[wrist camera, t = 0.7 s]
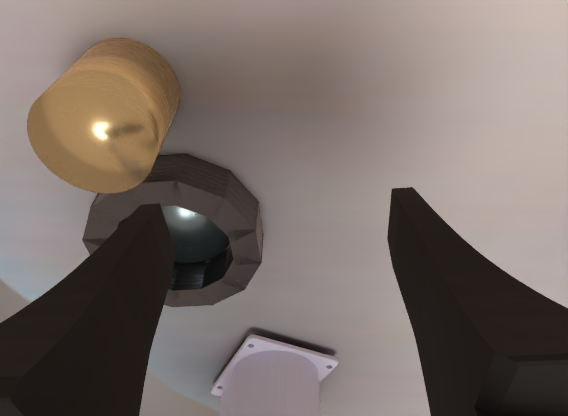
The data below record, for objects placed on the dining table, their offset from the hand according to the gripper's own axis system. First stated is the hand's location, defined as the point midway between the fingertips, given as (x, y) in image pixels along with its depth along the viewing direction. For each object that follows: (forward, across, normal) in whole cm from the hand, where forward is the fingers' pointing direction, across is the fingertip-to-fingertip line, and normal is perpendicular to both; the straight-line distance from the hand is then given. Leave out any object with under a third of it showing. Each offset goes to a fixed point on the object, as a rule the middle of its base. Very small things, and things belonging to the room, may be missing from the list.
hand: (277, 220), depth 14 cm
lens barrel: (+10, +7, +8) cm, 15 cm away
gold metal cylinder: (+10, +8, 0) cm, 13 cm away
